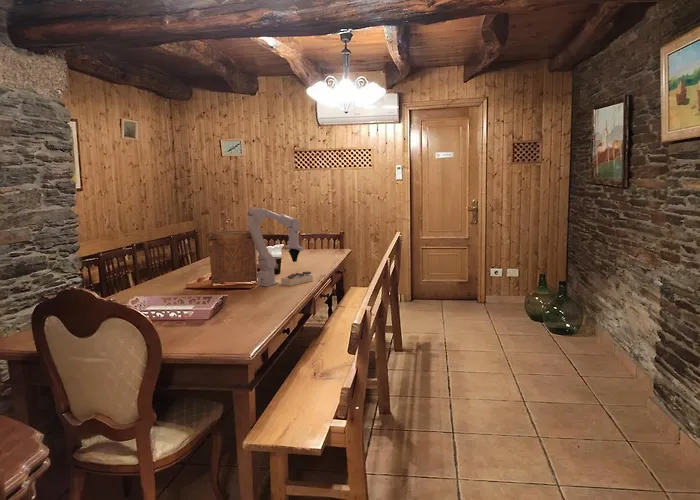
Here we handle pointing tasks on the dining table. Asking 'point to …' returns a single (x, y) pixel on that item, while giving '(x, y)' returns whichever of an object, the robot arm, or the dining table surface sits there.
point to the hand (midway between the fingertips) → (294, 261)
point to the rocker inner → (292, 276)
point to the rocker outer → (307, 272)
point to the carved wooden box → (232, 257)
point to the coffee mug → (277, 265)
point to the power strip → (296, 280)
